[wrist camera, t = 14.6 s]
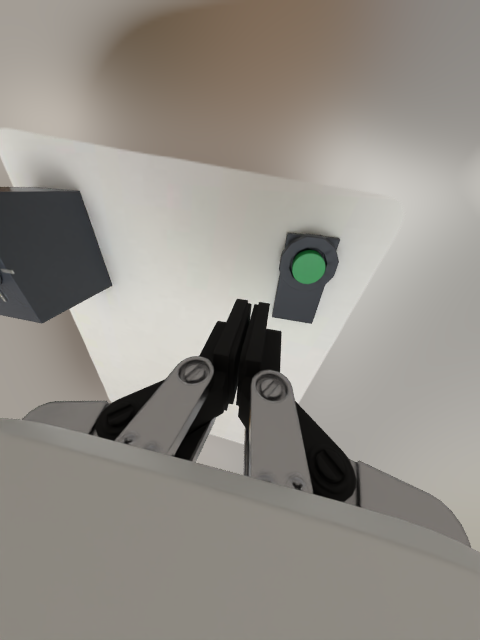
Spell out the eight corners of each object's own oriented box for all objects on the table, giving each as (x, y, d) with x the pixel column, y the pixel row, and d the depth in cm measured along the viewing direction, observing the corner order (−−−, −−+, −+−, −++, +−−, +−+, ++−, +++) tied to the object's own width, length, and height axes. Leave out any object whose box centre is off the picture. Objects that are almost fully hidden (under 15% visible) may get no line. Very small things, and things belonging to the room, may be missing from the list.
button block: (285, 230, 24) (285, 233, 22) (341, 235, 23) (346, 240, 21) (270, 313, 31) (269, 322, 29) (313, 320, 30) (314, 330, 28)
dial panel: (32, 186, 27) (-113, 185, 18) (84, 191, 26) (-40, 192, 16) (74, 279, 35) (-9, 314, 26) (116, 286, 34) (46, 325, 24)
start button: (295, 247, 23) (295, 251, 21) (327, 251, 22) (330, 255, 21) (289, 277, 25) (289, 281, 23) (318, 281, 24) (320, 286, 23)
